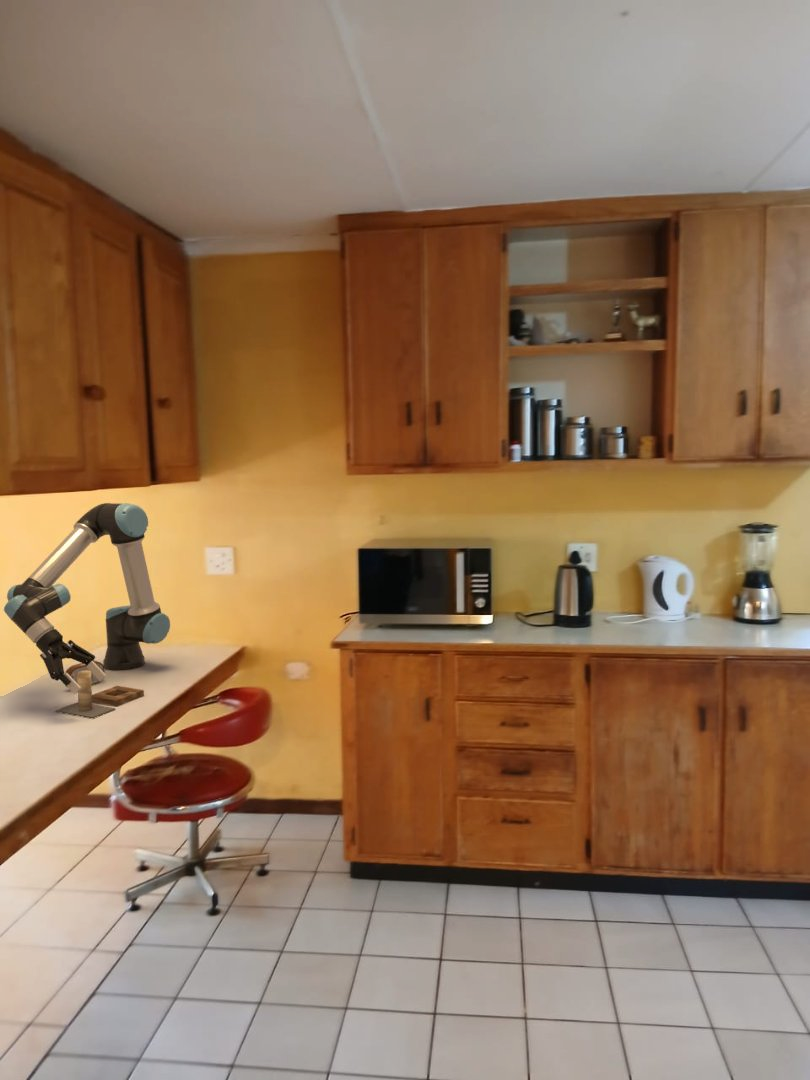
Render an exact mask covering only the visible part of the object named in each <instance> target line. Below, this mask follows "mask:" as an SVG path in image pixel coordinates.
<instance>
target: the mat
mask: <svg viewBox="0 0 810 1080" xmlns="http://www.w3.org/2000/svg"><path fill="white" fill-rule="evenodd" d="M56 711H58V712H57V713H60V712H62V713H61V714H65V713H68V714H67V715H70V714H73V715H72V716H76V715H79V716H78V717H81V716H83V718H86V717H89V718H88V719H91V718H93V719H96V718H98V717H101V716H104V715H106V714H108V713H110V712H114V711H116V707H111V706H106V705H105V706H104V705H99V704H93V703H92V709H91V710H88V711H79V707H78V701H77V702H74V703H72V704H69V705H66V706H64V707H61V708H57V709H55V712H56ZM103 714H104V715H103ZM97 716H98V717H97ZM95 717H96V718H95Z"/></svg>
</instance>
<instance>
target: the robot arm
mask: <svg viewBox="0 0 810 1080" xmlns="http://www.w3.org/2000/svg"><path fill="white" fill-rule="evenodd" d="M147 527H148V528H149V518H148V515H147V513H146V511H145V510H144V509H143V507H140V506H139V505H136V504H133V503H126V502H125V503H115V502H114V503H112V502H106V503H105V502H104V503H100V504H98V505H96V506H93V508H92V507H91V509H89V510H88V511H87V512H85V513H84V514H83V515H82V516H81V517H80V518H79V519H77V521H76V522H75V523H74V524H73V530H71V532H70V533H69V534H68V535H67V536H66V537H65V538H64V539H63V540H62V541H61V543H60V544H59V545H58V546H57V547H56V548H55V549H54V550H52V552H51V553H50V554H49V555H48V556H47V557H46V558H45V559H44V560H43V561H42V562H41V563H40V564H39V565H38V566H37V568H36V569H35V570H34V571H33V572H32V573H31V574H30V575H29V576H28V577H27V578H25V579H26V580H24V581H23V582H22V583H20V584H15V585H13V586H11V587H10V588H9V589H8V591H7V595H6V598H7V602H6V603H5V605H4V607H3V611H4V613H5V614H6V616H8V618H9V619H10V621H11V622H13V623H14V624H15V625H16V626H17V627H18V628H19V629H20V630H21V631H22V632H23V634H25V636H27V638H29V640H30V641H31V642H32V643H33V644H35V646H36V647H37V649H38V650H40V652H41V653H40V654H39V656H40V658H41V659H42V660H43V662H44V665H45V667H46V669H47V672H48V675H49V676H50V679H52V680H54V681H57V682H58V681H59V680H60V682H61V683H63V685H64V686H65V685H66V686H67V688H68V689H69V691H71V692H72V693H73V694H74V695H76V694H78V691H79V690H80V689H81V687H80V686H79V685H78V684H77V683H76V682H75V681H74V680H73V678H72V677H71V676H70V675H69V674H68V673H65V671H64V670H65V669H64V663H63V662H64V661H63V660H65V659H68V660H69V659H72V660H74V661H76V662H78V663H83V664H86V665H87V668H88V669H89V670H90V671H91V672H92V674H93V675H94V676H95V677H96V678H97V679H98V680H99V681H100V682H101V681H102V680H104V678H105V677H106V676H107V675H106V673H105V672H103V671H102V670H101V669H100V668H99V667H98V665H97V664H96V663H95V662H94V661H95V659H96V656H95V654H92V653H91V652H89V651H88V650H86V649H84V648H82V647H81V646H79V645H78V644H76V643H75V642H74V641H73V640H72V639H69V640H68V641H67V642H64V641H63V638H64V636H63V635H62V634H61V633H60V631H59V630H57V628H55V625H53V624H52V623H51V622H50V621H49V620H48V618H46V616H48V615H50V614H52V613H53V612H55V611H57V610H59V609H62V608H63V607H65V605H67V604H68V603H70V601H71V593H70V591H69V589H68V588H67V587H66V586H65V585H64V584H62V583H56V582H57V580H59V579H60V578H61V577H62V575H63V574H64V573H65V572H66V571H67V570H68V569H69V568H70V566H71V565H72V564H73V563H74V562H75V561H76V560H77V559H78V558H79V557H80V555H81V554H83V552H84V551H85V550H86V549H87V548H88V547H89V546H90V545H91V543H93V544H94V543H96V542H97V541H99V539H100V538H101V537H104V536H107V535H108V536H109V538H110V542H111V544H112V545H113V546H115V547H116V550H117V554H118V556H119V557H118V558H119V562H120V565H121V569H122V573H123V578H124V582H125V584H124V585H125V587H126V588H125V589H126V592H127V596H128V600H129V605H122V606H117V607H112V608H109V609H107V610H106V612H105V627H106V643H107V644H106V645H107V647H106V651H105V655H104V659H103V661H102V662H103V663H102V664H103V666H104V669H106V670H109V671H124V670H123V669H125V670H131V669H130V668H132V669H136V668H139V667H138V666H140V667H141V665H142V664H144V663H146V658H145V655H144V653H143V650H142V648H141V645H140V643H145V644H147V645H151V644H154V645H155V644H158V643H161V642H162V641H163V640H165V639H166V637H167V636H168V634H169V632H170V629H171V620H170V618H169V616H168V614H167V615H166V614H165V613H163V612H162V610H161V606H160V604H159V603H158V602H156V601H155V598H154V593H153V590H152V589H153V588H152V585H151V580H150V575H149V574H150V573H149V571H148V565H147V561H146V557H145V553H144V547H143V543H142V542H143V540H144V539H145V536H146V535H145V533H146V532H147V530H148V529H147ZM55 583H56V584H55ZM142 666H143V665H142ZM135 667H136V668H135ZM66 686H65V687H66Z"/></svg>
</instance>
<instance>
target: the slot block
mask: <svg viewBox="0 0 810 1080" xmlns="http://www.w3.org/2000/svg"><path fill="white" fill-rule="evenodd" d="M139 697H140V698H141V697H145V690H144V689H140V688H133V687H127V686H120V685H115V686H112V687H110V688H107V689H105V690H102V691H98V692H96V693H92V703H94V702H95V703H96V704H99V703H100V704H101V705H105V706H106V705H107V706H110V707H111V706H113V707H115V708H116V707H120V706H122V705H124V704H126V703H129V702H132V701H134V699H135V700H136V699H140V698H139Z"/></svg>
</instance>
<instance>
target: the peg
mask: <svg viewBox="0 0 810 1080" xmlns="http://www.w3.org/2000/svg"><path fill="white" fill-rule="evenodd" d="M77 683H78V685H79V686H80V687H81V689H80V690H79V691H78V692H77V698H78V699H77V702H78V707H79V711H88V710H91V709H92V704H93V702H92V695H93V693H92V691H93V689H92V685H91V671H89V670H84V671H79V672H77Z"/></svg>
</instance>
